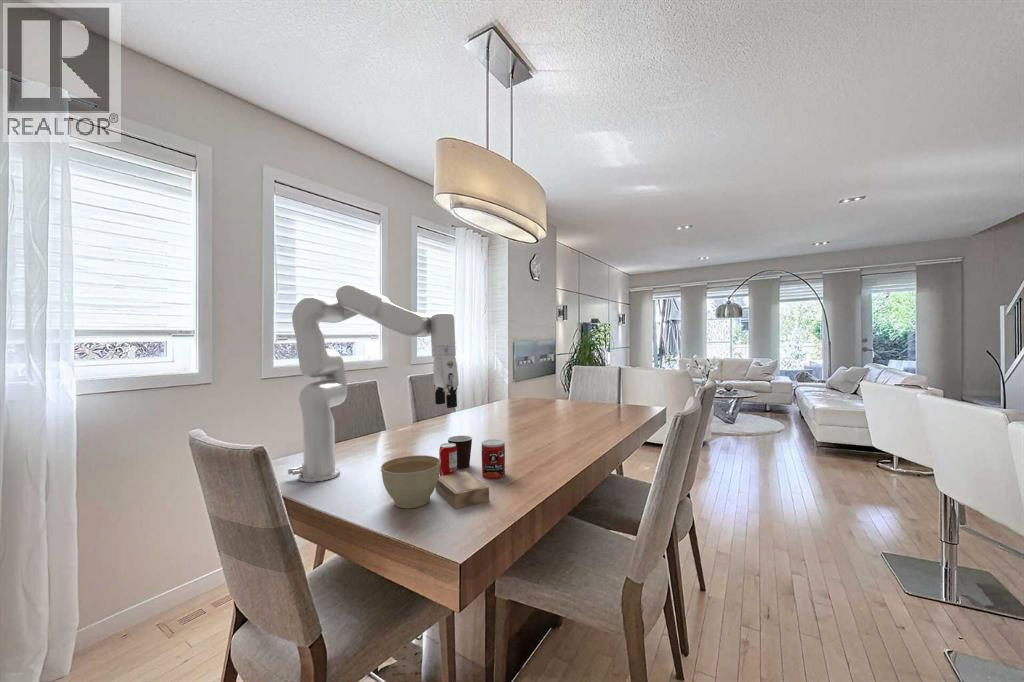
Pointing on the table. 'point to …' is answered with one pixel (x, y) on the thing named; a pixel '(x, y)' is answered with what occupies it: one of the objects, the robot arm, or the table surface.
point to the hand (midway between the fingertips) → (446, 405)
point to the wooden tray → (462, 489)
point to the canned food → (493, 458)
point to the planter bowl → (411, 479)
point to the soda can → (448, 459)
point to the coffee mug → (462, 450)
